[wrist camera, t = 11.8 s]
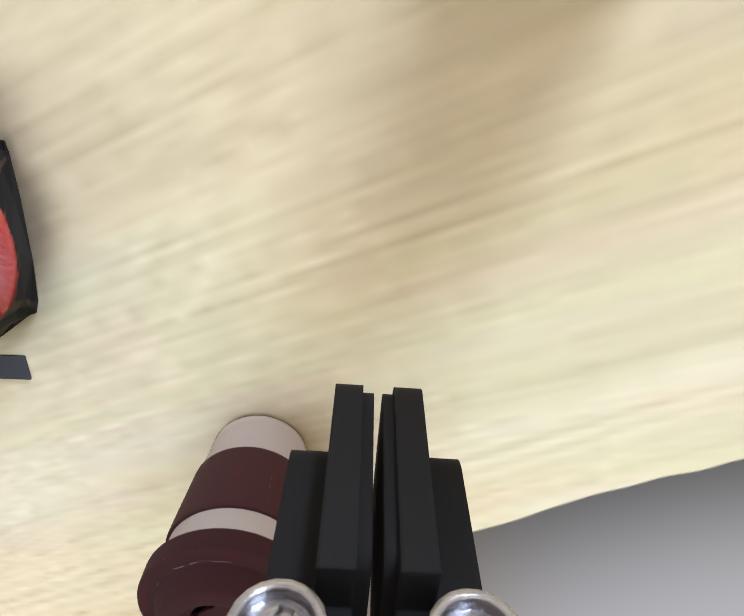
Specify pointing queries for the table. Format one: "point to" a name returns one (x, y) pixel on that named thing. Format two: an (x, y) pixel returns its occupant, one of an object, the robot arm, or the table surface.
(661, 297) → the table surface
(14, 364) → the tape outline
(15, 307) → the baking dish
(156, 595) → the coffee cup
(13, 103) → the table surface
